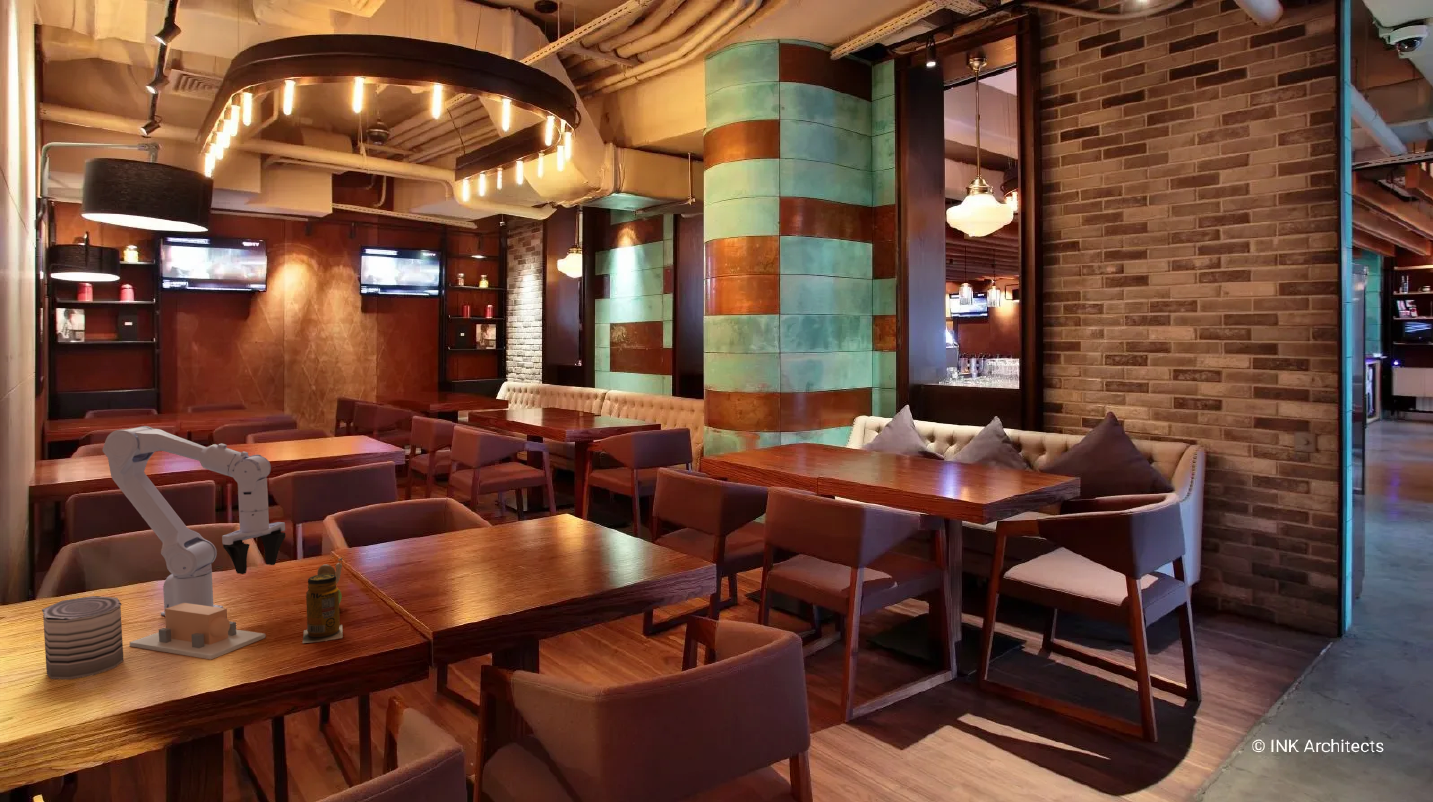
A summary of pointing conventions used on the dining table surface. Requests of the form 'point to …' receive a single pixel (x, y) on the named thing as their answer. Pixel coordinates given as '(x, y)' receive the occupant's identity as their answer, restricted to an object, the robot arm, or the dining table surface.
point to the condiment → (322, 609)
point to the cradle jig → (198, 643)
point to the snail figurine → (332, 572)
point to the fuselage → (197, 622)
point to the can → (82, 637)
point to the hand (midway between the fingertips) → (256, 568)
